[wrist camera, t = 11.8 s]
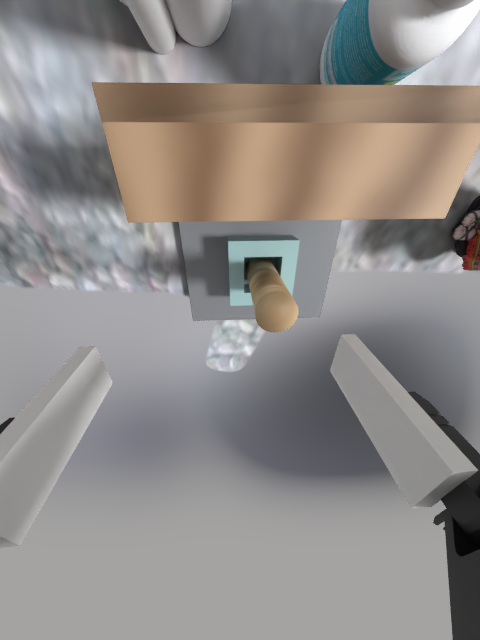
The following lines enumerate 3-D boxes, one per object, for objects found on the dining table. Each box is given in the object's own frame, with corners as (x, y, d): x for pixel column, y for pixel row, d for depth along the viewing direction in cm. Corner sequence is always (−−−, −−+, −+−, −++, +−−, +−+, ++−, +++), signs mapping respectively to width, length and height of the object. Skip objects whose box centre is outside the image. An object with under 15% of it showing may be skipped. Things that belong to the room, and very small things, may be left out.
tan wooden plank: (178, 207, 28) (128, 222, 14) (169, 144, 24) (91, 82, 11) (341, 205, 28) (444, 218, 15) (354, 144, 25) (505, 86, 11)
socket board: (193, 317, 37) (189, 332, 33) (168, 138, 24) (156, 128, 20) (317, 314, 37) (328, 328, 33) (356, 138, 25) (379, 128, 21)
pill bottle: (340, 130, 24) (440, 74, 13) (302, 63, 21) (388, -88, 10) (403, 62, 22) (599, -85, 10) (369, -25, 19) (590, -368, 7)
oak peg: (245, 280, 32) (255, 332, 20) (245, 254, 30) (256, 295, 18) (271, 280, 32) (295, 331, 21) (273, 254, 30) (301, 294, 18)
